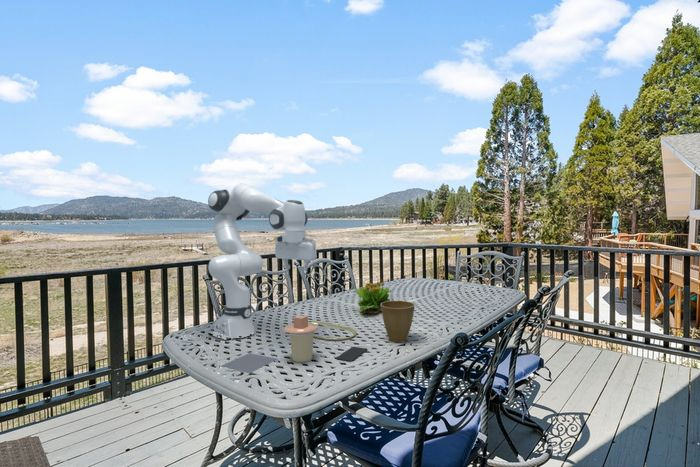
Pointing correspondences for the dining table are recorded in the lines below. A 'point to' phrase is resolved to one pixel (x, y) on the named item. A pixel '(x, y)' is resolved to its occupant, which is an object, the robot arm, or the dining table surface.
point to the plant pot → (397, 319)
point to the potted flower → (372, 297)
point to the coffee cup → (302, 347)
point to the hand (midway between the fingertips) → (296, 269)
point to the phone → (351, 354)
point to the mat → (249, 362)
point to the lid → (300, 326)
